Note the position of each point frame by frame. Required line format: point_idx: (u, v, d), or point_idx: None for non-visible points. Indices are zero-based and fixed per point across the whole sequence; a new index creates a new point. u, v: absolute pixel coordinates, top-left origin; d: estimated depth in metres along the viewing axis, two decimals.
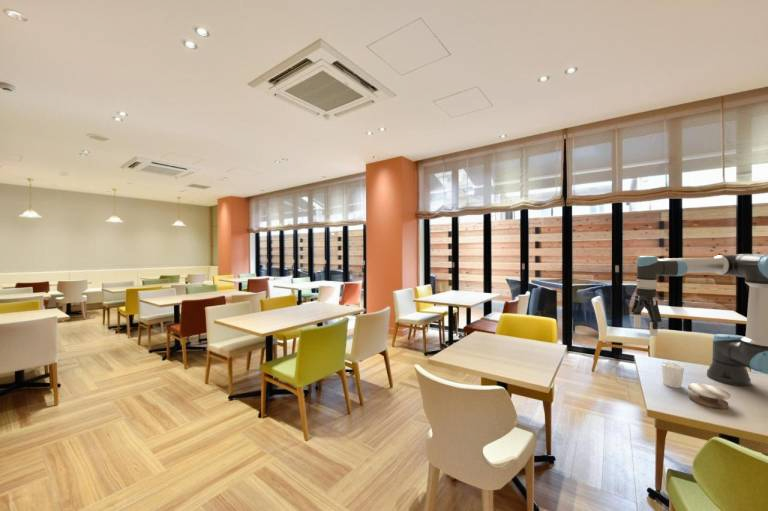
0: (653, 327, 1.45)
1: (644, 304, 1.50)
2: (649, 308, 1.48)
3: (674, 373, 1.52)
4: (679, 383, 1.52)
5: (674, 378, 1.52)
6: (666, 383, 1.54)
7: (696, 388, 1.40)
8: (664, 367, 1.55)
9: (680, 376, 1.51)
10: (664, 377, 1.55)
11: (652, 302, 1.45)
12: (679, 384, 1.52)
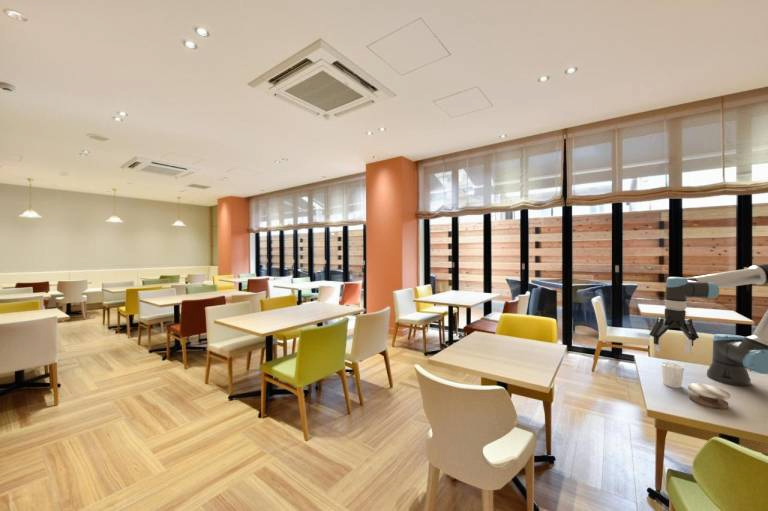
0: None
1: None
2: (663, 326, 1.55)
3: (674, 373, 1.52)
4: (679, 383, 1.52)
5: (674, 378, 1.52)
6: (666, 383, 1.54)
7: (696, 388, 1.40)
8: (664, 367, 1.55)
9: (680, 376, 1.51)
10: (664, 377, 1.55)
11: (658, 319, 1.55)
12: (679, 384, 1.52)
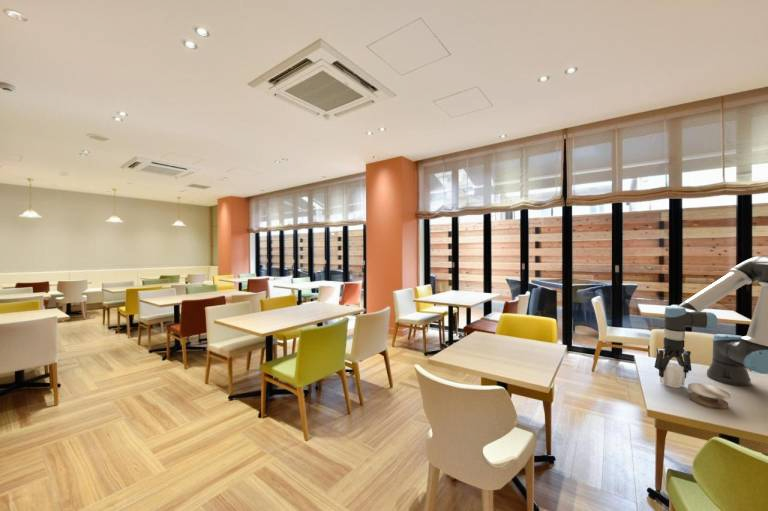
0: None
1: None
2: (664, 357, 1.55)
3: (674, 373, 1.52)
4: (679, 383, 1.52)
5: (674, 378, 1.52)
6: (666, 383, 1.54)
7: (696, 388, 1.40)
8: None
9: (680, 376, 1.51)
10: None
11: (657, 350, 1.56)
12: (679, 384, 1.52)
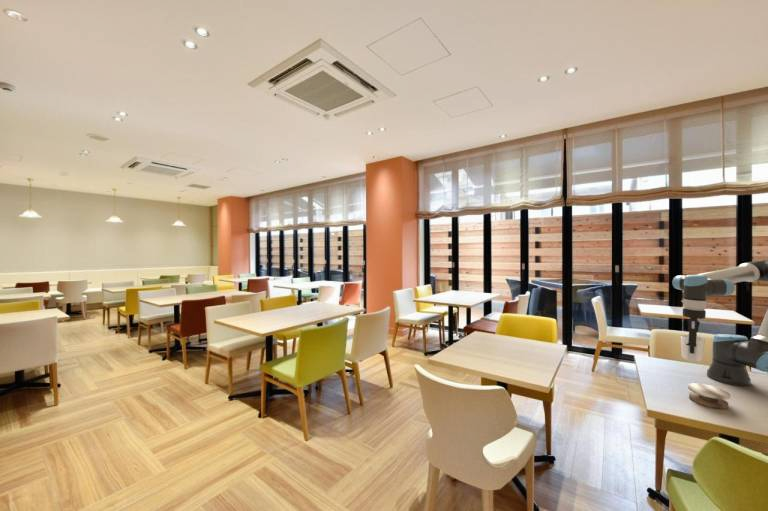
0: (689, 351, 1.42)
1: (688, 325, 1.45)
2: None
3: (702, 346, 1.42)
4: None
5: (702, 351, 1.42)
6: None
7: (696, 388, 1.40)
8: None
9: None
10: None
11: (690, 325, 1.41)
12: None
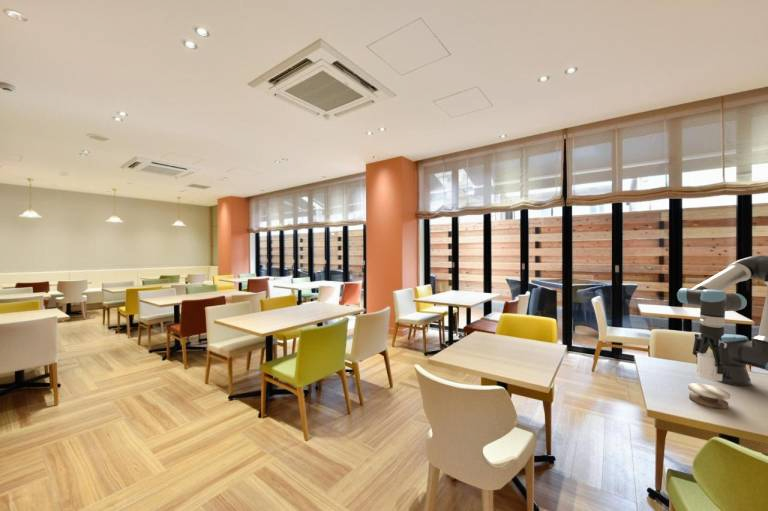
0: (718, 372, 1.33)
1: (710, 344, 1.36)
2: (715, 350, 1.34)
3: None
4: None
5: None
6: None
7: (696, 388, 1.40)
8: None
9: None
10: None
11: (723, 345, 1.31)
12: None
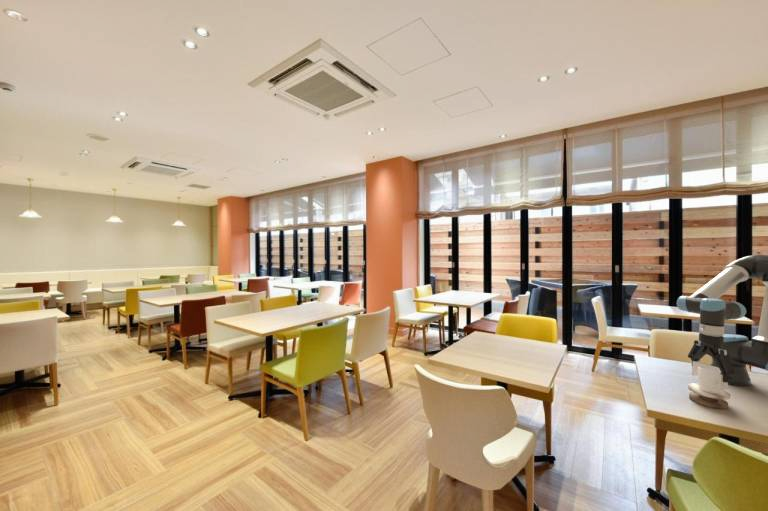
0: (724, 380, 1.31)
1: (710, 352, 1.36)
2: (717, 358, 1.34)
3: None
4: None
5: None
6: (718, 391, 1.35)
7: (696, 388, 1.40)
8: None
9: None
10: (717, 385, 1.35)
11: (723, 352, 1.31)
12: None
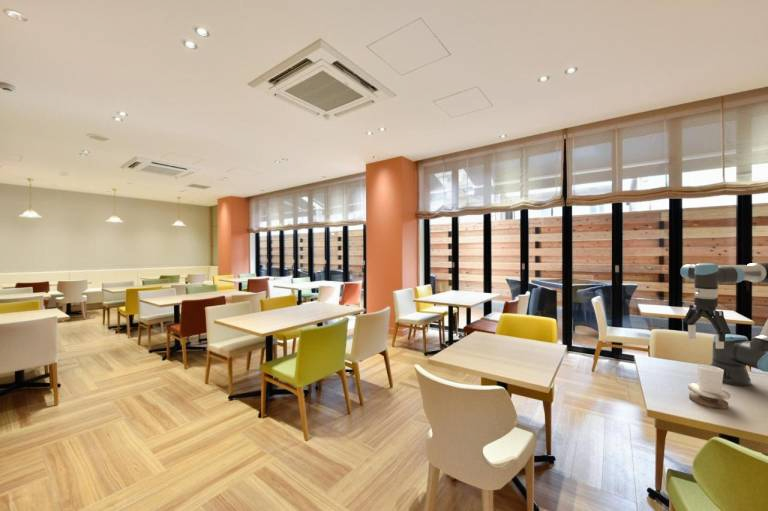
0: (720, 339, 1.36)
1: (706, 315, 1.41)
2: (713, 319, 1.39)
3: None
4: None
5: None
6: (718, 391, 1.35)
7: (696, 388, 1.40)
8: (719, 374, 1.34)
9: None
10: (717, 385, 1.35)
11: (718, 313, 1.37)
12: None
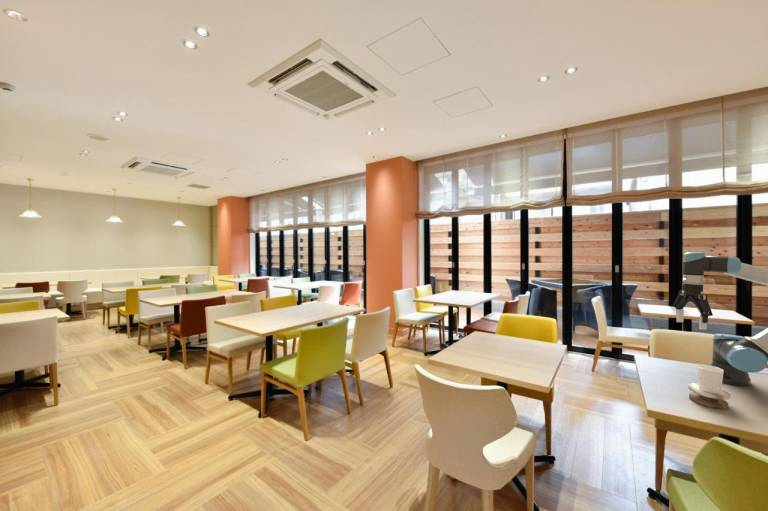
0: (703, 321, 1.49)
1: (692, 299, 1.55)
2: (697, 303, 1.52)
3: None
4: None
5: None
6: (718, 391, 1.35)
7: (696, 388, 1.40)
8: (719, 374, 1.34)
9: None
10: (717, 385, 1.35)
11: (702, 297, 1.50)
12: None
